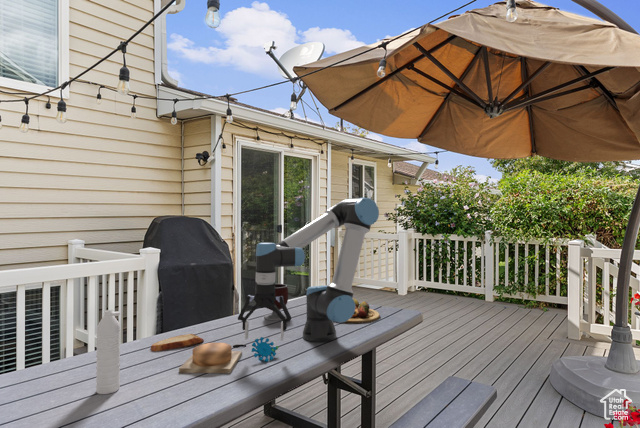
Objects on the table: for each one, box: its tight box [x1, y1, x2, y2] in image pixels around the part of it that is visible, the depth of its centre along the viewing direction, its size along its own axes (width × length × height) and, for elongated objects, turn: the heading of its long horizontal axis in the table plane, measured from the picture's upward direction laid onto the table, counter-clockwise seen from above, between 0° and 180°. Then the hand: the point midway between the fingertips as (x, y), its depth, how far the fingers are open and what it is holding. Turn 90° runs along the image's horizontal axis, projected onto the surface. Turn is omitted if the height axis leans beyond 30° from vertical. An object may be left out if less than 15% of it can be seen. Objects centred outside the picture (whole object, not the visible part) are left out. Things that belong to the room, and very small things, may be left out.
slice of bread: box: [149, 333, 205, 352], centre depth 169 cm, size 18×18×4 cm
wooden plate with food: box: [333, 297, 381, 325], centre depth 218 cm, size 32×32×8 cm
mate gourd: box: [263, 283, 289, 321], centre depth 214 cm, size 16×14×20 cm
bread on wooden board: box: [178, 342, 243, 374], centre depth 147 cm, size 18×18×6 cm
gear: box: [251, 336, 279, 363], centre depth 153 cm, size 11×6×10 cm
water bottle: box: [95, 309, 121, 395], centre depth 124 cm, size 9×6×25 cm
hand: (264, 338), depth 152 cm, fingers open, 13 cm apart
